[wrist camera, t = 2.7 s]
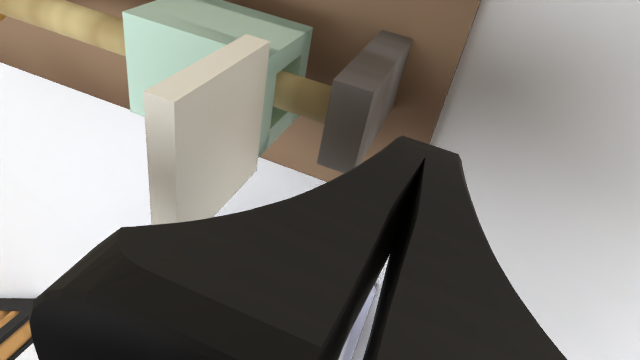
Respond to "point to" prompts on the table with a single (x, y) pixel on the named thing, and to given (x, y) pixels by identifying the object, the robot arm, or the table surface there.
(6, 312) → the ammunition clip
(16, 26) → the brown plate
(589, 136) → the table surface
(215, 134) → the green sliding block
